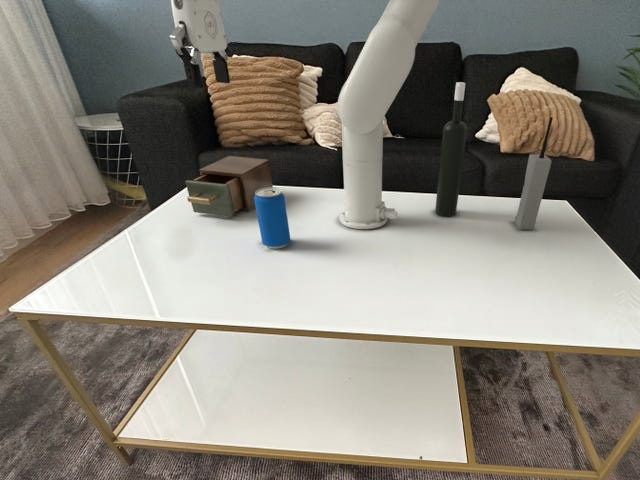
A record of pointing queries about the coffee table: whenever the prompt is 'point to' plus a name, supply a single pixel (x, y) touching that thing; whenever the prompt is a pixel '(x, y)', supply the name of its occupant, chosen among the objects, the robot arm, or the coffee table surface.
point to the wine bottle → (451, 158)
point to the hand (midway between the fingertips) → (210, 85)
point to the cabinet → (243, 175)
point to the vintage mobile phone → (533, 187)
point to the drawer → (216, 194)
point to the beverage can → (272, 217)
